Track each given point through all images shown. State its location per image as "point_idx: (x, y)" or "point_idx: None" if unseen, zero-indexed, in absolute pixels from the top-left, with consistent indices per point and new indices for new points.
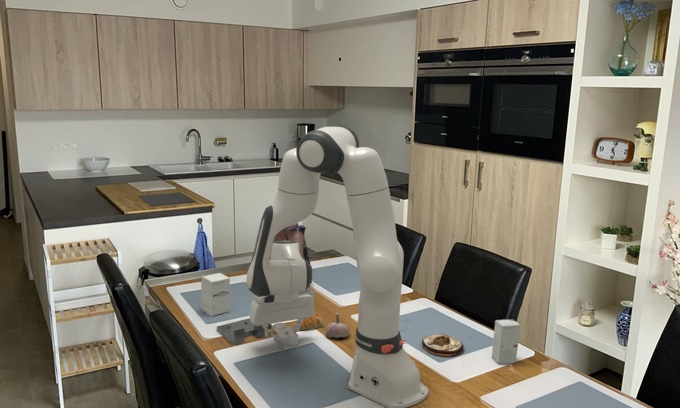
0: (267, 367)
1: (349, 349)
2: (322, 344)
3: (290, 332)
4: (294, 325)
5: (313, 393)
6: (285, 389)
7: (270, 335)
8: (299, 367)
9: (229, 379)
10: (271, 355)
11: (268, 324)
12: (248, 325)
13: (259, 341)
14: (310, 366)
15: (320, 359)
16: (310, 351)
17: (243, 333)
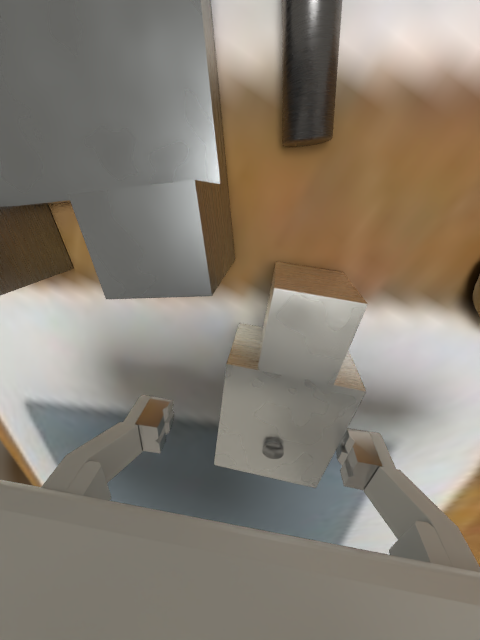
0: (130, 470)
1: None
2: (408, 472)
3: (299, 452)
4: (362, 467)
5: None
6: None
7: (166, 428)
8: (221, 511)
9: (16, 458)
10: None
11: (297, 134)
12: (99, 38)
13: (156, 306)
14: (253, 522)
15: (308, 518)
16: None
17: (14, 288)
